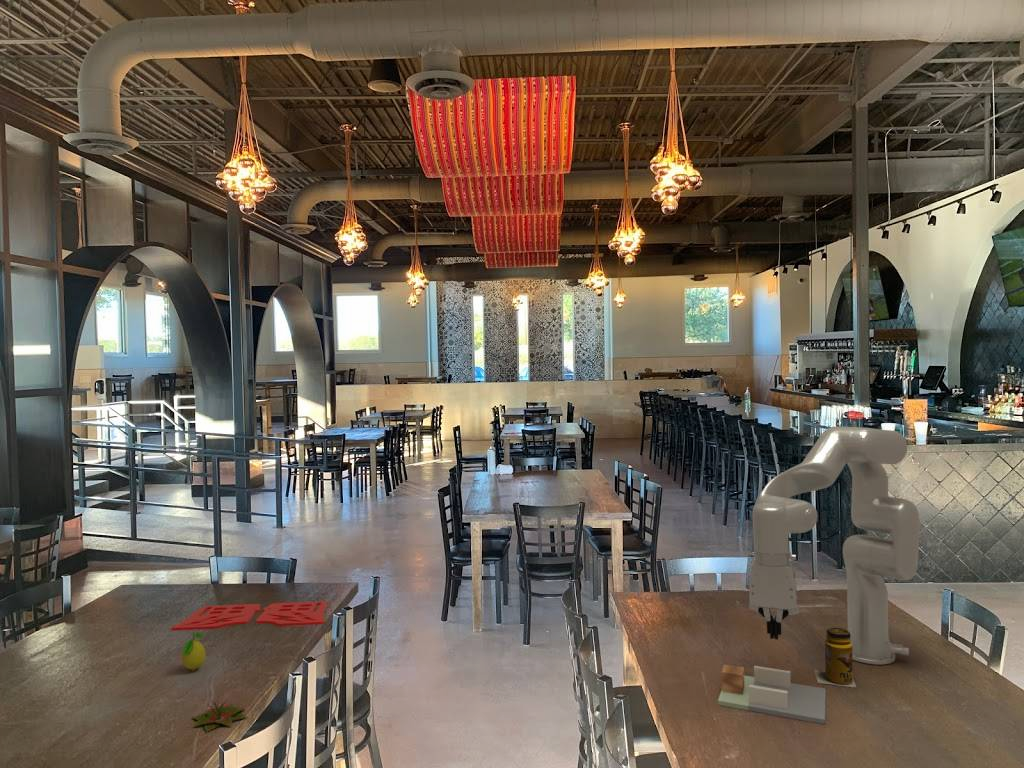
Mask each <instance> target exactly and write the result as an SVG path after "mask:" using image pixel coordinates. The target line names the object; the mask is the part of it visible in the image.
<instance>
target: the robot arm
mask: <svg viewBox="0 0 1024 768" xmlns="http://www.w3.org/2000/svg"><path fill="white" fill-rule="evenodd" d="M907 451H908V443H907V440H906V438H905V436H904V435H903V434H902V433H901V432H899V431H897V430H889V429H880V428H872V427H861V426H860V427H859V426H858V427H857V426H842V425H841V426H840V425H839V426H831V427H828V428H826V429H825V430H824V431H823V432H822V433H821V434H820V435H819V437H818V438H817V440H816V442H815V443H814V445H813V446H812V448H811V449H810V450H809V451H808V453H807V455H806V456H805V458H804V459H803V461H802V462H801V463H799V464H796V465H794V466H792V467H790V468H788V469H787V470H784V471H783V472H781V473H779V474H778V475H776V476H774V477H773V478H771V479H770V480H769V481H768V482H767V483H766V485H765V486H764V488H763V489H762V491H760V493H759V495H758V496H757V498H756V501H755V503H754V505H753V508H752V535H753V537H752V538H753V558H754V560H752V561H751V564H750V569H749V586H748V587H749V588H748V589H749V591H748V593H749V595H748V597H749V604H748V609H749V610H750V611H754V612H755V613H756V612H757V613H759V614H760V615H761V616H762V618H764V620H765V621H766V632H767V634H769V637H770V638H769V639H770V640H773V639H775V640H779V635H780V636H782V621H783V620H784V619H786V618H787V617H788V616H795V615H798V614H799V612H800V609H799V607H798V589H797V588H798V587H797V579H796V571H795V568H794V564H793V563H792V561H796V560H797V556H796V554H793V553H791V552H790V549H789V535H791V534H801V533H802V534H803V533H808V532H809V531H811V530H812V529H813V528H815V526H816V524H817V523H818V519H819V518H818V511H817V509H816V506H814V505H813V504H812V503H810V502H808V501H806V500H802V499H796V498H792V497H795V496H797V495H801V494H803V493H804V494H805V493H808V492H816V491H818V490H819V491H820V490H824V489H826V488H829V487H831V486H833V484H834V483H835V482H836V480H837V479H838V477H839V475H840V474H841V472H842V471H843V469H844V468H845V466H846V465H847V467H848V468H849V470H850V472H851V480H852V481H851V487H852V488H851V503H850V505H851V506H850V508H851V509H850V513H851V514H850V517H851V522H852V524H853V525H854V526H855V527H856V528H859V530H860V529H862V530H863V531H864V530H865V531H869V532H873V533H874V532H875V533H881V534H884V535H885V534H887V535H891V536H892V539H888V538H883V537H879V536H874V535H873V536H872V535H867V534H853V535H850V536H848V537H847V538H846V539H845V540H844V542H843V545H842V558H843V562H844V566H845V571H846V572H845V573H846V587H847V598H846V599H847V601H846V602H847V631H849V632H850V635H851V636H850V639H851V641H850V642H851V644H852V660H853V661H856V662H859V663H863V664H867V665H888V664H892V663H894V662H895V661H896V654H897V655H901V656H910V649H909V647H905V646H903V644H898V643H896V644H895V643H893V642H890V637H889V592H888V589H887V588H888V587H887V585H886V583H885V581H884V579H883V577H886V578H890V579H894V580H901V581H909V580H910V579H913V577H914V576H915V574H916V573H917V570H918V565H919V563H918V562H919V548H920V547H919V546H920V544H919V543H920V526H921V525H920V524H921V523H920V513H919V511H918V508H917V506H916V505H915V504H914V502H912V501H911V500H909V499H905V498H900V497H893V496H889V475H888V473H887V472H886V469H885V467H884V466H883V465H897V464H899V463H900V462H902V461H904V459H905V457H906V456H907ZM771 609H774V610H776V615H775V616H774V615H772V612H771ZM773 616H774V617H773Z"/></svg>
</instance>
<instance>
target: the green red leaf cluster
mask: <svg viewBox="0 0 1024 768" xmlns="http://www.w3.org/2000/svg"><path fill="white" fill-rule="evenodd" d="M221 698H222V699H221V701H220V703H221V704H220V705H219V704H218V703H219V702H218V698H216V702H217V703H216V702H215V701H214V700H213V699H211V704H212V705H214V708H213V707H212V706H211V705H209V708H208V710H206V713H201V714H198V715H196V716H192V717H191V719H194V720H197V721H196V722H195V724H194V726H192V728H195V727H198V726H201V725H204V729H205V733H208V732H209V731H211V730H213V729H215V728H217V727H219V726H221V725H225V726H227V727H230V728H232V722H234V721H237V720H241V719H247V718H249V717H248V716H247V715H244V714H243V713H241V711H243V710H245V708H242V707H241V708H240V707H238V706H235V707H234V705H233V704H229V703H228V702H230V700H228V699H230V696H229V697H227V698H226V699H225V701H224V702H222V701H223V698H224V696H222V697H221ZM225 704H226V705H225ZM224 705H225V706H224ZM221 718H223V719H221ZM216 719H218V720H216ZM220 719H221V720H220ZM213 723H216V724H213Z"/></svg>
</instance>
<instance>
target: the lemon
mask: <svg viewBox="0 0 1024 768" xmlns="http://www.w3.org/2000/svg"><path fill="white" fill-rule="evenodd" d="M195 637H196V638H198V639H199V640H203V639H204V637H203V634H202V632H201V631H198V632H196V633H195V631H193V632H192V639H191V640H189V641H187V642H186V643H185V645H184V648H183V650H182V654H181V661H182V664H183V666H184V668H186V669H189V670H191V671H192V672H194V671H195V670H196V669H198V668H200V667H201V666H202V665H204V663H205V660H206V649H205V647H204V645H203V643H201V641H198V640H195Z"/></svg>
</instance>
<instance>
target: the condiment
mask: <svg viewBox="0 0 1024 768" xmlns="http://www.w3.org/2000/svg"><path fill="white" fill-rule="evenodd" d="M850 636H851V635H850V632H849V631H848V629H845V628H840V627H829V628H828V629H826V638H825V640H824V666H825V668H824V670H819V669H818V670H817V669H814V674H815V679H816V681H817V684H825V685H826V684H827V685H833V686H840V687H841V686H842V687H848V688H849V687H850V688H857V685H856V682H855V680H854V678H853V675H854V674H853V671H854V669H853V667H854V666H853V661H854V660H853V659H852V644H851V642H850V641H851V639H850Z"/></svg>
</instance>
